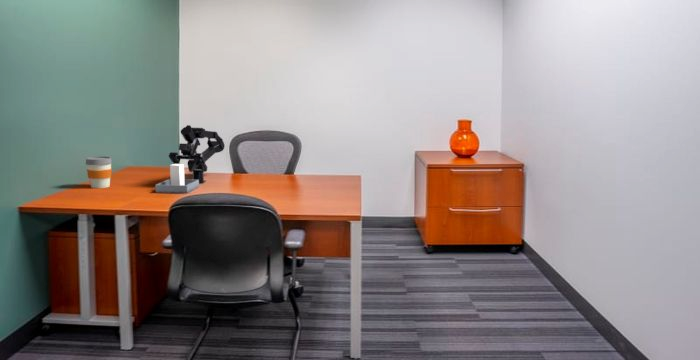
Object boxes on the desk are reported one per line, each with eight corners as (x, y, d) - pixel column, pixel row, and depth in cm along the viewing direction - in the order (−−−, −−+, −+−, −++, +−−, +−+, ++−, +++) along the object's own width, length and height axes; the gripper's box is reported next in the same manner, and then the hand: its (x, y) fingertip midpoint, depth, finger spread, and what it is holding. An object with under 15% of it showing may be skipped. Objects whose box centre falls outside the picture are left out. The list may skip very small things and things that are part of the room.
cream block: (175, 186, 314) (174, 163, 312) (184, 187, 313) (183, 164, 311) (170, 188, 309) (169, 165, 307) (180, 189, 308) (179, 165, 306)
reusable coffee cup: (112, 188, 314) (110, 159, 312) (86, 189, 311) (84, 160, 308) (113, 184, 326) (112, 156, 324) (88, 185, 322) (86, 156, 320)
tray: (169, 186, 321) (168, 178, 320) (199, 187, 319) (198, 179, 319) (155, 192, 303) (155, 184, 302) (187, 193, 302) (186, 185, 301)
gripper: (169, 136, 319) (159, 160, 310) (202, 137, 315) (193, 162, 307) (177, 150, 328) (168, 173, 319) (209, 151, 324) (201, 175, 316)
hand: (182, 170), depth 315 cm, fingers open, 9 cm apart
